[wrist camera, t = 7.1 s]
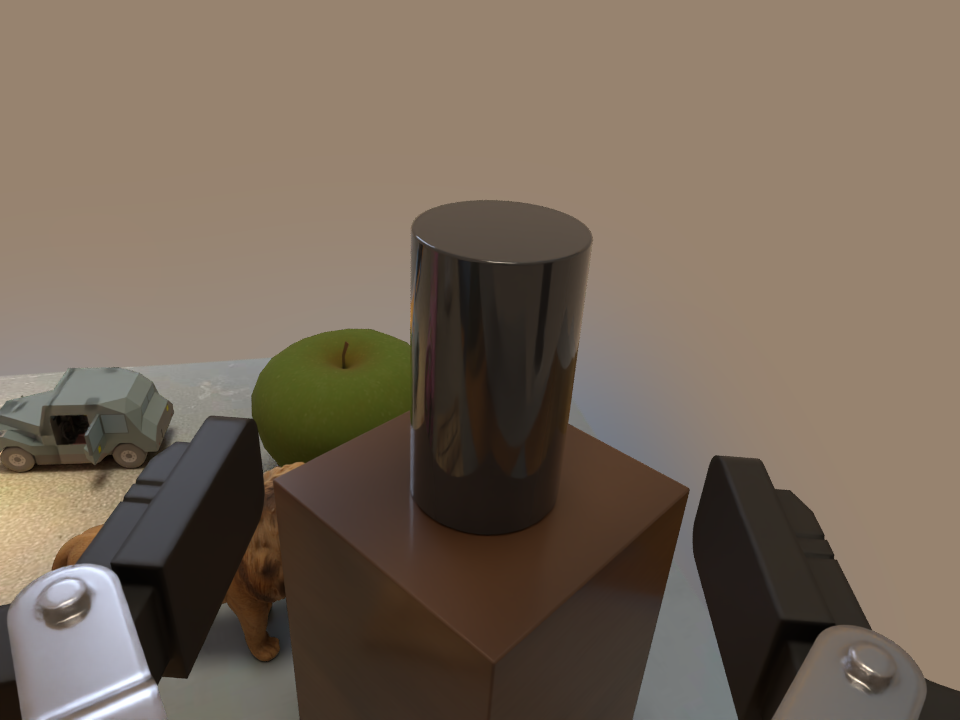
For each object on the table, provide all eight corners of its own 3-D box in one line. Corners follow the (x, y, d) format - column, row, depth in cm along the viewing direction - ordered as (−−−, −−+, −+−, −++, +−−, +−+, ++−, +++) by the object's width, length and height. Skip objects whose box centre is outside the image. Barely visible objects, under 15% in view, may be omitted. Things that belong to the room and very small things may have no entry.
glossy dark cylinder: (588, 485, 25) (629, 232, 20) (488, 561, 22) (510, 279, 17) (481, 423, 28) (496, 189, 23) (378, 481, 24) (372, 222, 20)
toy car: (18, 433, 48) (-2, 369, 46) (177, 428, 50) (165, 366, 47) (-27, 497, 43) (-53, 429, 40) (152, 490, 44) (137, 423, 42)
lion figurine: (339, 567, 40) (332, 431, 35) (354, 648, 35) (347, 504, 31) (35, 621, 36) (-18, 475, 31) (8, 719, 31) (-58, 565, 27)
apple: (338, 414, 52) (330, 285, 47) (465, 463, 48) (472, 328, 43) (223, 499, 44) (200, 355, 39) (366, 568, 40) (360, 416, 35)
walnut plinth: (628, 737, 32) (691, 488, 25) (469, 929, 26) (493, 664, 19) (464, 607, 38) (478, 374, 31) (301, 736, 31) (271, 478, 24)
